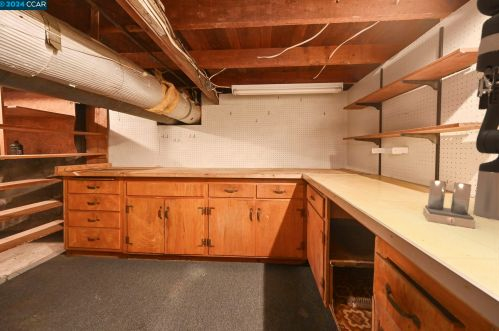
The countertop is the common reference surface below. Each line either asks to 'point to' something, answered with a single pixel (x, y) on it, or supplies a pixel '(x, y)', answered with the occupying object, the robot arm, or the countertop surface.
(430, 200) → the cylinder
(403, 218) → the countertop surface
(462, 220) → the scale
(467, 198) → the cylinder
